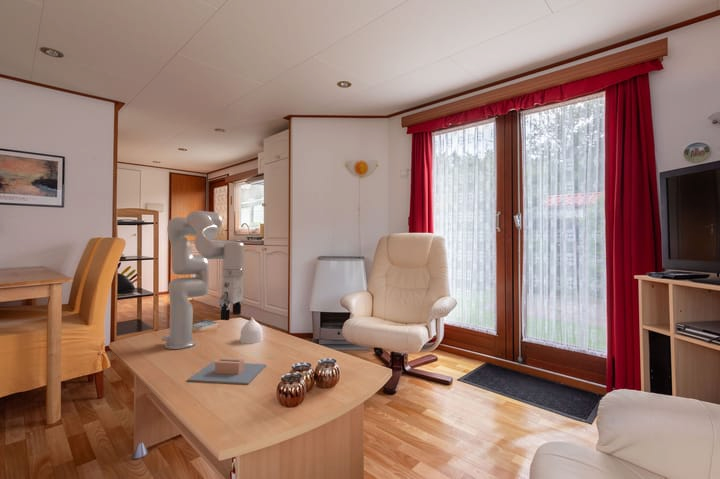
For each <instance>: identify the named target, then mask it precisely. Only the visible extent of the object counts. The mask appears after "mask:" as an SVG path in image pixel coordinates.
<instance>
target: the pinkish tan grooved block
mask: <svg viewBox="0 0 720 479" xmlns="http://www.w3.org/2000/svg"><path fill="white" fill-rule="evenodd" d="M214 362H215V373H224V374H239V373H241V372H242V371H243V370H244V363H245V359H244V358H243V359H242V358H228V357H226V358H225V357H222V358H219V359H218V360H217V361H214Z"/></svg>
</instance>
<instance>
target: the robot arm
mask: <svg viewBox="0 0 720 479" xmlns="http://www.w3.org/2000/svg"><path fill="white" fill-rule="evenodd" d="M222 223H223V219H222V217H221V215H220V214H219V213H217V212H214V211H206V210H193V211H191V212H189V213H188V215H187V216H184V217H183V216H182V217H181V216H176V217H173V218H170V220H169V221H168V224H167V230H166V231H167V236H168V240H169V242H170V247H171V248H170V249H171V250H170V251H171V252H170V253H171V256H170V258H171V270H172V273H173V274H174V275H177V276H178V275H179V276H182V275H185V276H186V275H195V276H191V277H189V276H188V277H177V278H174V279H172V280H171V281H170V282H169V284H168V285H167V286H168V295H169V333H168V335H163V336H162V337H161V341H162V342H164V341H166V343H165V344H164V347H165V348H166V349H168V350H181V349H188V348H191V347H193V346H194V345H196V340H194V339H193V320H194V319H193V318H194V315H193V314H194V306H193V304H192V302H191V301H190V300H189V299H190V298H195V297H196V298H199V297H204V296H206V295H207V294H208V292H209V290H210V274H209V273H210V270H209V269H210V267H209V261H208V260H222V283H221V285H222V286H221V294H220V296H221V297H220V298H219V306H220V308H219V309H220V320H221V321H229V320H230V317H231V316H230V314H231V310H230V307H231V304H232V315H241V314H242V312H241V310H242V301H243V300H244V279H243V278H244V262H245V261H244V259H245V257H244V256H245V244H244V242H242V241H241V242H240V241H233V240H224V239H222V240H220V239H219V240H218V239H216V237H218V234H219V230H220V229H221V227H222V225H223V224H222ZM186 236H190V237H191V236H192V237H195V239H194V245H195V249H196V251H197V252H198V253H199V254H193V250H192V243H191V242H190V240H189V239H188V238H187V237H186Z"/></svg>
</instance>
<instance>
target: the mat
mask: <svg viewBox="0 0 720 479" xmlns="http://www.w3.org/2000/svg"><path fill="white" fill-rule="evenodd" d="M215 362H216V361H211V362H210V363H209V364H208V365H206V366H205V367H203V368H202V369H200V370H199V371H198V372H196V373H194V374H193V375H192V376H190V377H188V378H187V381H186V382H193V383H194V382H195V383H196V382H197V383H212V384H215V383H216V384H230V385H231V384H233V385H247V386H248V385H250V384H251V383H252V382H253V380H254V379H255V378H256V377H257V376H258V375H259V374H260V373H261V372H262V371H263V369H265V368H266V367H267V364H265V363H250V362H249V363H246V362H244V370H243V371H242V372H241V373H239V374H224V373H215Z"/></svg>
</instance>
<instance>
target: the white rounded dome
mask: <svg viewBox="0 0 720 479" xmlns="http://www.w3.org/2000/svg"><path fill="white" fill-rule="evenodd" d="M263 334H264V332H263V328H262V326H261V325H260V323H259V322H257V321H256V320H255V319H254V318H253V316H251V319H250V320H249V321H246V322H245V324H244V325H243V326H242V328H241V330H240V338H239V342H240V343H242V344H258V343H261V342H263V341H264V335H263Z"/></svg>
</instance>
